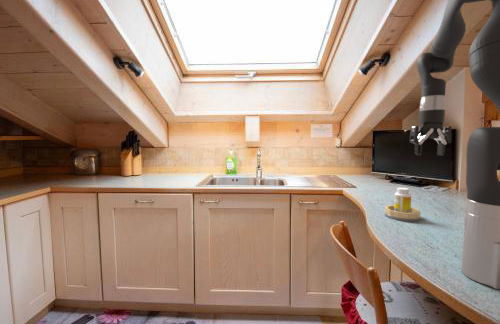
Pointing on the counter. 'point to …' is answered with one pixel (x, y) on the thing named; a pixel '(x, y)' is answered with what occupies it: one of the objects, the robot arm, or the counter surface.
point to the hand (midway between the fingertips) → (429, 155)
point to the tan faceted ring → (402, 214)
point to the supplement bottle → (402, 200)
